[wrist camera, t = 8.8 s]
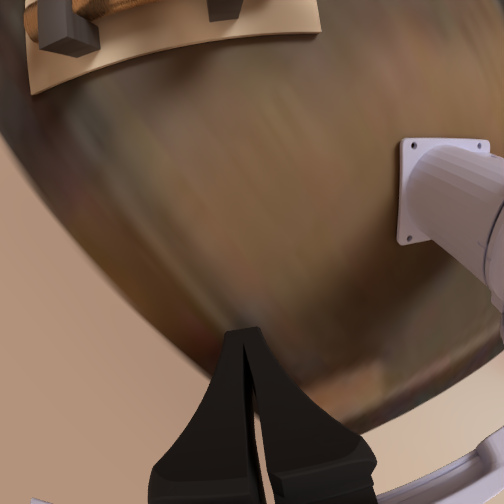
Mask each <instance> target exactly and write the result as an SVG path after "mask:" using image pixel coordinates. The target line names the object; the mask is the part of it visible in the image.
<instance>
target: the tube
mask: <svg viewBox="0 0 504 504" xmlns="http://www.w3.org/2000/svg"><path fill="white" fill-rule="evenodd" d="M157 1H161V0H72V12H73V13H75V14H77V15H79V16H80V17H82V18H84V19H86V20H88V21H89V22H92V21H94V20H97V19H100V18H103V17H106V16H108V15H111V14H114V13H118V12H121V11H124V10H127V9H131V8H134V7H138V6H141V5H145V4H149V3H153V2H157ZM24 26H25V30H26V32H27V35H28V36H29V38H30V39H31V40H32V41H33V42H34V43H36V44H39V41H38V17H37V0H36V1H34V2H33V3H31V4H29V5H28V6H27V7H26V9H25V12H24Z"/></svg>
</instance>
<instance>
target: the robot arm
mask: <svg viewBox="0 0 504 504" xmlns="http://www.w3.org/2000/svg"><path fill="white" fill-rule="evenodd" d="M412 143H414V147H413V148H411V144H412ZM408 236H410V237H409V238H408V239H407V237H408ZM428 240H433V241H434V242H436V243H437V244H438V245H439V246H441V247H442V248H443V249H444V250H445V251H447V252H448V253H449V254H450V255H452V256H453V257H454V258H455V259H456V260H457V261H459V262H460V263H461V264H462V265H463V266H465V267H466V268H467V269H468V270H469V271H470V272H471V273H473V274H474V275H475V276H476V277H477V278H478V279H479V280H480V281H482V282H483V283H484V284H485V285H486V286H487V287H488V288H489V289H490V290H491V293H492V297H491V303H492V304H493V305H494V306H495V307H496V308H497V309H498V310H499V311H500V312H501V313H502V314H501V317H500V333H501V338H502V340H503V343H504V158H502V157H499V156H496V155H493V154H491V153H490V143H489V141H487V140H483V139H462V138H404V139H402V140H401V142H400V188H399V211H398V227H397V242H398V243H399V244H400V245H407V244H412V243H417V242H423V241H428ZM252 385H253V387H252ZM253 389H254V393H255V396H256V400H257V404H258V409H259V416H260V423H261V430H262V437H263V445H264V452H265V460H266V467H267V472H268V476H269V480H270V483H271V486H272V490H273V494H274V500H275V504H484V503H485V502H487V501H488V500H489V499H491V498H492V497H494V496H495V495H497V494H498V493H499V492H501V491H502V490H503V489H504V426H503V427H501V428H500V429H498V430H497V431H495V432H494V433H492V434H491V435H489V436H488V437H486V438H485V439H484V440H483V441H482V442H481V443H480V444H479V445H478V446H477V447H476V449H474V450H473V451H471V452H469V453H468V454H466V455H464V456H462V457H461V458H459V459H457V460H455V461H453V462H452V463H450V464H448V465H446V466H444V467H442V468H440V469H438V470H436V471H434V472H432V473H430V474H428V475H426V476H424V477H421V478H419V479H417V480H414V481H412V482H410V483H408V484H405V485H403V486H400V487H398V488H395V489H393V490H390V491H388V492H385V493H382V494H379V495H377V496H376V495H375V492H374V489H373V485H374V482H373V480H372V477H371V474H372V472H373V470H374V468H375V467H376V465H377V460H376V457H375V455H374V453H373V452H372V450H371V448H370V447H369V445H368V444H367V443H366V441H365V440H364V439H363V437H362V436H360V435H359V434H357V433H355V432H353V431H352V430H350V429H349V428H347V427H346V426H344V425H342V424H341V423H340V422H338V421H337V420H335V419H334V418H333V417H331V416H330V415H329V414H328V413H326V412H325V411H324V410H323V409H321V408H320V407H319V406H318V405H317V404H315V403H314V402H313V401H312V400H311V399H310V398H309V397H308V396H307V395H306V394H305V393H304V392H303V391H302V390H301V389H300V388H299V387H298V386H297V385H296V384H295V383H294V381H293V380H292V379H291V378H290V377H289V375H288V374H287V373H286V372H285V370H284V369H283V368H282V366H281V365H280V364H279V362H278V361H277V359H276V358H275V356H274V355H273V353H272V352H271V350H270V348H269V347H268V345H267V343H266V341H265V339H264V337H263V335H262V332H261V329H260V328H259V327H251V328H245V329H239V330H233V331H227V332H226V333H225V334H224V340H223V345H222V350H221V353H220V357H219V360H218V363H217V366H216V369H215V372H214V374H213V377H212V379H211V382H210V384H209V387H208V389H207V391H206V393H205V395H204V397H203V399H202V402H201V403H200V405H199V407H198V409H197V411H196V412H195V414H194V416H193V417H192V419H191V420H190V422H189V423H188V425H187V427H186V428H185V429H184V431H183V432H182V434H181V435H180V436H179V438H178V439H177V440H176V441H175V443H174V444H173V445H172V447H171V448H170V449H169V450H168V451H167V452H166V453H165V454H164V456H163V457H162V458H161V459H160V460H159V461H158V462H157V463H156V464H155V465H154V466H153V468H152V471H151V475H150V480H149V485H148V504H267V503H266V498H265V492H264V487H263V481H262V476H261V470H260V464H259V458H258V452H257V446H256V439H255V429H254V408H253ZM30 504H52V503H49V502H46V501H42V500H39V499H36V498H31V503H30Z"/></svg>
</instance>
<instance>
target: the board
mask: <svg viewBox="0 0 504 504" xmlns="http://www.w3.org/2000/svg"><path fill="white" fill-rule="evenodd" d="M34 1H36V0H26V2H25V9H26V7H27V6H28V5H29V4H31V3H33V2H34ZM37 17H38V41H39V44H36V43H34V42H33V41H32V40H31V39H30V38H29V36H28V35H27V32H26V49H27V62H28V73H29V82H30V90H31V95H37V94H39V93H41V92H43V91H45V90H47V89H50V88H52V87H54V86H56V85H59V84H61V83H64V82H66V81H68V80H71V79H73V78H76V77H79V76H81V75H84V74H86V73H89V72H92V71H95V70H98V69H101V68H104V67H107V66H110V65H113V64H116V63H119V62H122V61H126V60H129V59H133V58H136V57H140V56H144V55H147V54H151V53H155V52H160V51H164V50H168V49H173V48H177V47H182V46H188V45H193V44H198V43H204V42H211V41H217V40H224V39H232V38H241V37H251V36H263V35H279V34H319V33H320V32H321V26H320V20H319V14H318V8H317V3H316V0H161V1H157V2H153V3H149V4H145V5H141V6H138V7H134V8H131V9H127V10H124V11H121V12H118V13H114V14H111V15H108V16H106V17H103V18H100V19H97V20H94V21H92V22H89V21H88V20H86V19H84V18H82V17H80V16H79V15H77V14H75V13H73V12H72V0H37Z"/></svg>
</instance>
